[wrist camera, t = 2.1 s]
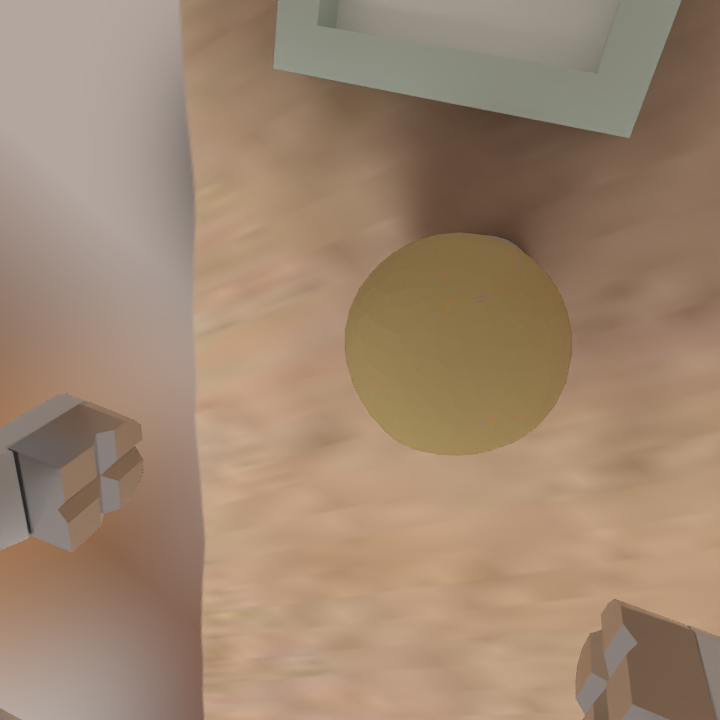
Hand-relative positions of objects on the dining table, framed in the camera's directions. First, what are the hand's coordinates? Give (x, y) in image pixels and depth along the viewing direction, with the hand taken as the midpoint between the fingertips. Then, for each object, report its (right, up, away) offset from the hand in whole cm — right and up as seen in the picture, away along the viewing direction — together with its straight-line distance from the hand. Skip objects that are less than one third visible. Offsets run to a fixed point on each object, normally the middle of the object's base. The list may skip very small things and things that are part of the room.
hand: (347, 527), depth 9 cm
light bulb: (+5, +6, +13) cm, 15 cm away
